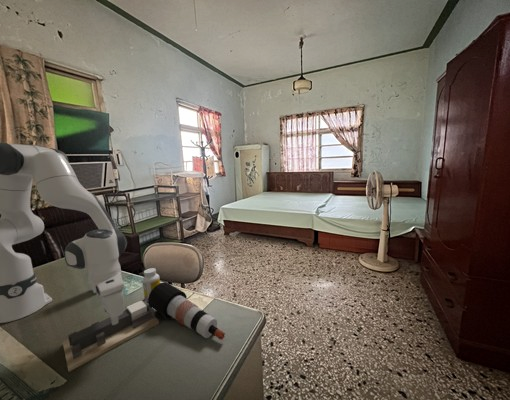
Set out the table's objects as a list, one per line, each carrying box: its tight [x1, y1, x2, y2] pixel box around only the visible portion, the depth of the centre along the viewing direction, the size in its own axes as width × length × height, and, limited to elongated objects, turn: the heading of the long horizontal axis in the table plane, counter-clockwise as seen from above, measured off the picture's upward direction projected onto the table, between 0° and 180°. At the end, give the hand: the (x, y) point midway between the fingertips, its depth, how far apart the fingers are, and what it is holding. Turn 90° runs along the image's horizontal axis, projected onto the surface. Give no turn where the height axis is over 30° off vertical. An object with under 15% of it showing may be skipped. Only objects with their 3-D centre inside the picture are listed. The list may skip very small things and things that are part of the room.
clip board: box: [62, 300, 160, 373], centre depth 73 cm, size 14×25×4 cm, turn 136°
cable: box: [147, 281, 226, 341], centre depth 77 cm, size 10×34×10 cm, turn 53°
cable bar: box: [70, 300, 147, 350], centre depth 73 cm, size 5×21×5 cm, turn 136°
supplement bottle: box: [141, 267, 161, 303], centre depth 93 cm, size 7×7×13 cm
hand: (111, 316), depth 73 cm, fingers open, 8 cm apart
